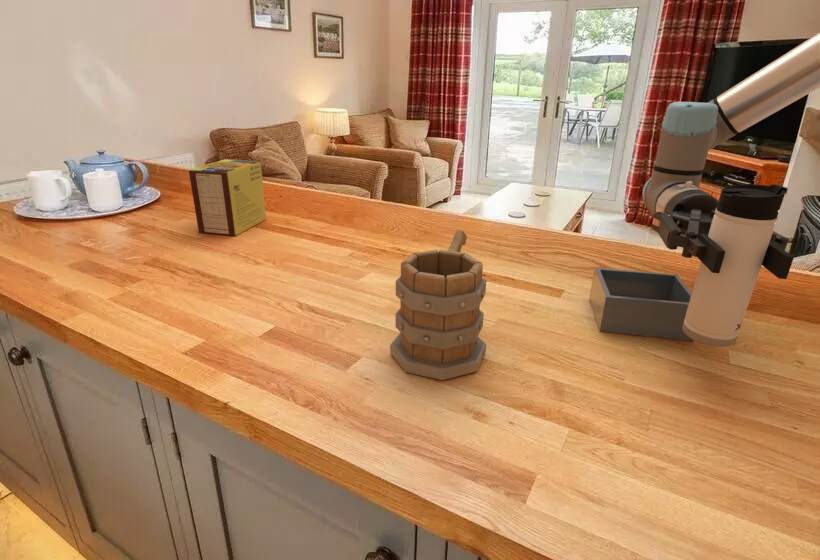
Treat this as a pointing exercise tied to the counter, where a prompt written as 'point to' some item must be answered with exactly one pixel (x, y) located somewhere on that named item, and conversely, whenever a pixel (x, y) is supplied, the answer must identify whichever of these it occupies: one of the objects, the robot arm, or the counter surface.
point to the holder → (640, 303)
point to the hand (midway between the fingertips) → (752, 264)
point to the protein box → (228, 196)
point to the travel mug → (733, 262)
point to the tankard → (440, 313)
